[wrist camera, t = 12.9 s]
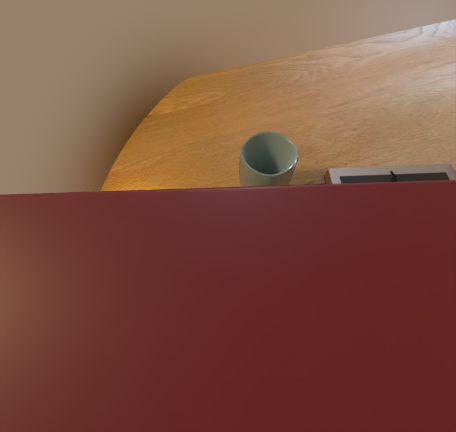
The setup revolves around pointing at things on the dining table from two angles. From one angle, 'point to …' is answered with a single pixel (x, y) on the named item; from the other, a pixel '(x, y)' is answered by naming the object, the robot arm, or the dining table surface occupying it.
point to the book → (230, 309)
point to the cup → (267, 160)
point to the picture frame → (390, 174)
